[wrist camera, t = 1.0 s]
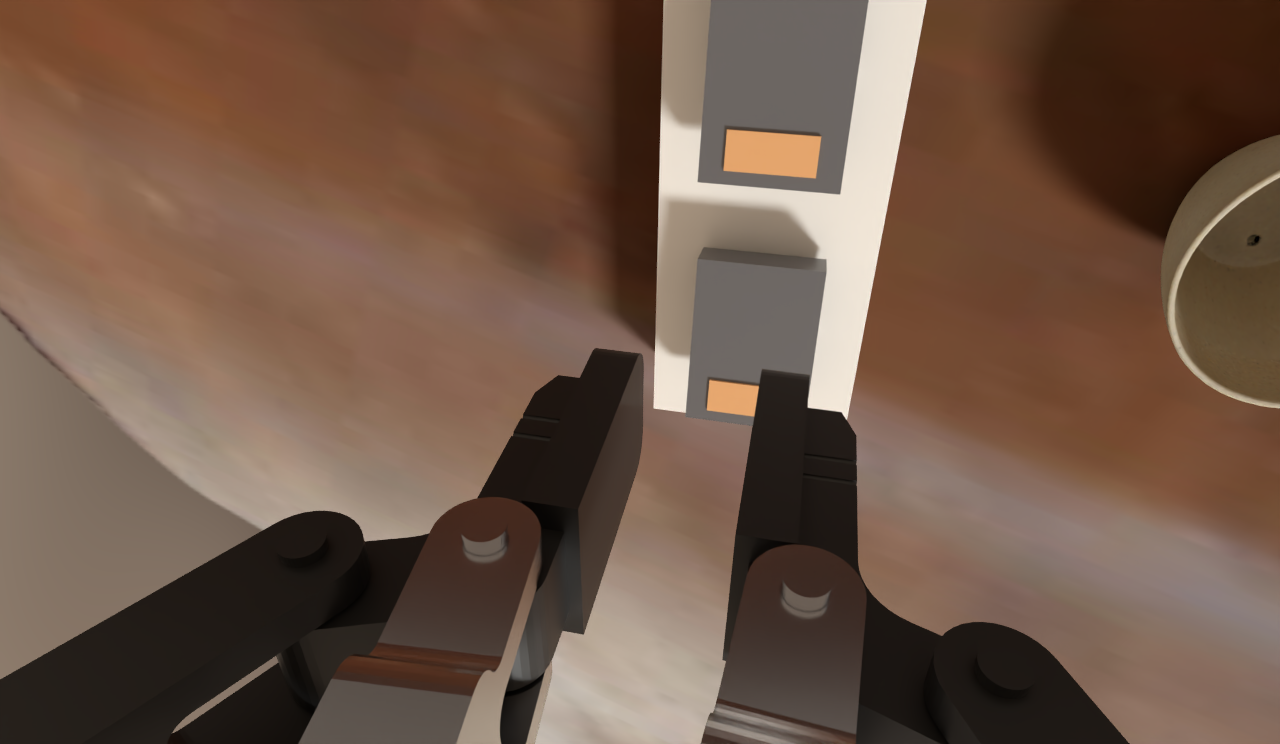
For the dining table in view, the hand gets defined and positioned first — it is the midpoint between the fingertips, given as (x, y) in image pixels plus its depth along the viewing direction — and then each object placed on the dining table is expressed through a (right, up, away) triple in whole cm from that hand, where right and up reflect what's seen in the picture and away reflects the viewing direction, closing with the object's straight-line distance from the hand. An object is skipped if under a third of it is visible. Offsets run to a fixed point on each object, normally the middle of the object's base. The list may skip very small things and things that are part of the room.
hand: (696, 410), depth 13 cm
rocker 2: (+4, +2, +22) cm, 22 cm away
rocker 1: (+4, +11, +16) cm, 20 cm away
